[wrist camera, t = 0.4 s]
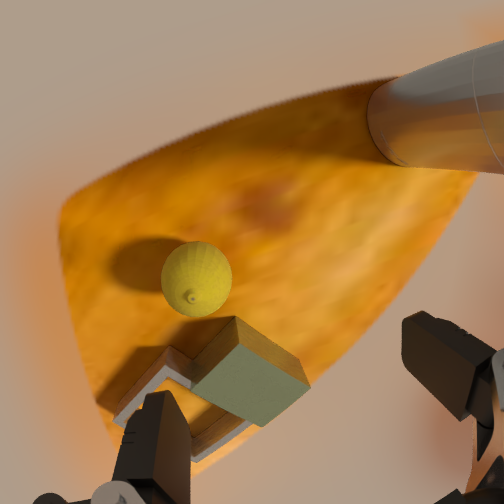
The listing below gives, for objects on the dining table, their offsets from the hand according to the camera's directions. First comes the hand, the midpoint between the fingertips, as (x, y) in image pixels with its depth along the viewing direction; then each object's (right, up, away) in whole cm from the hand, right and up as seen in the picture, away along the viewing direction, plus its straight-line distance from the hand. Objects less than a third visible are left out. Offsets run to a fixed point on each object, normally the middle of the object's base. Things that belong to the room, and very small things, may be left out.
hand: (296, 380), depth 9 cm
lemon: (-6, +3, +18) cm, 19 cm away
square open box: (-7, -11, +21) cm, 25 cm away
